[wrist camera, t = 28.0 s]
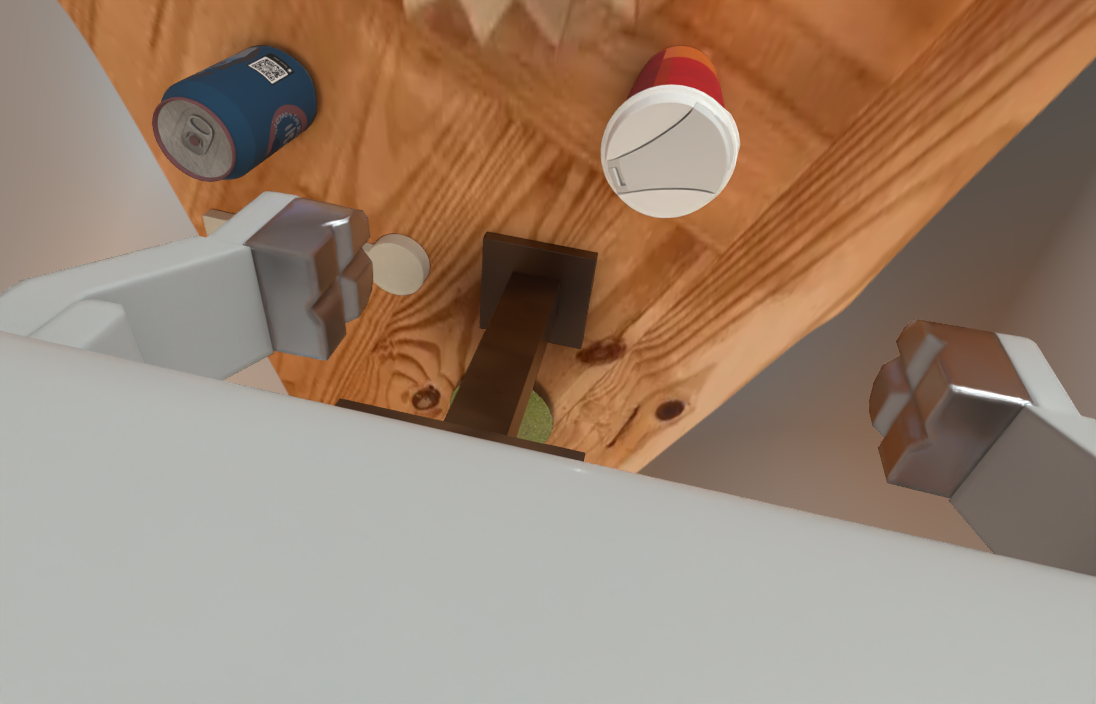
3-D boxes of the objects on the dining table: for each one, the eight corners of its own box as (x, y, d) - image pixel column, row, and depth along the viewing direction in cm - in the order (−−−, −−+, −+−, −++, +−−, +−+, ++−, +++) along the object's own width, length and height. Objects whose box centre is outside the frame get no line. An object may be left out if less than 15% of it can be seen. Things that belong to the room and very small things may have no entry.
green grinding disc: (476, 444, 76) (472, 457, 74) (439, 370, 69) (432, 382, 68) (568, 437, 72) (565, 450, 70) (537, 358, 66) (533, 370, 64)
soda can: (304, 146, 56) (223, 209, 47) (231, 90, 54) (132, 145, 45) (337, 82, 52) (256, 138, 43) (260, 20, 50) (157, 65, 41)
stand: (458, 324, 65) (349, 531, 46) (459, 216, 57) (330, 411, 38) (606, 354, 64) (558, 582, 44) (628, 248, 56) (582, 468, 37)
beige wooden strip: (430, 240, 59) (423, 250, 58) (430, 290, 63) (423, 301, 62) (206, 192, 61) (195, 200, 60) (218, 244, 65) (208, 253, 63)
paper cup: (641, 151, 50) (621, 239, 40) (610, 50, 46) (578, 118, 36) (745, 120, 47) (753, 206, 37) (722, 10, 43) (723, 70, 33)
